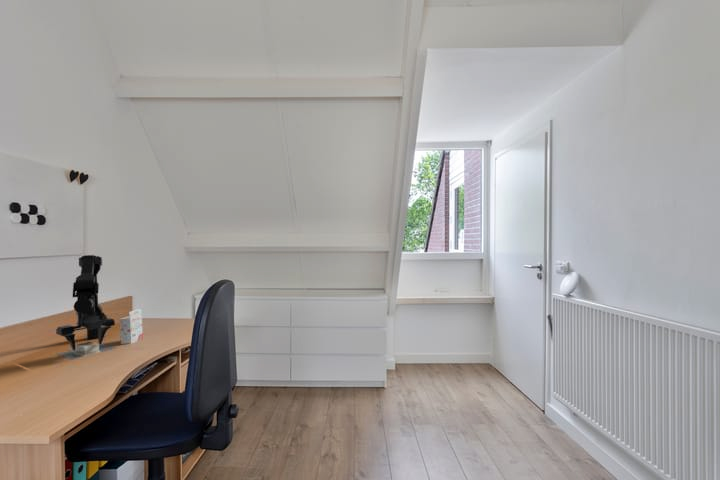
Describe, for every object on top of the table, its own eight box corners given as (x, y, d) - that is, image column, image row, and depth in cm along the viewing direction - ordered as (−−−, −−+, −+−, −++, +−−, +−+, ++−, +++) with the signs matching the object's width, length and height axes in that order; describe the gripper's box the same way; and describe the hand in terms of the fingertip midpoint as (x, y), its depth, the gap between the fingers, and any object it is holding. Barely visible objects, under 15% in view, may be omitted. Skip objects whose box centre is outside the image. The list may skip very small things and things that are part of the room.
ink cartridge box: (132, 339, 169) (131, 308, 169) (143, 339, 169) (142, 308, 169) (120, 345, 160) (119, 312, 160) (131, 344, 160) (130, 311, 160)
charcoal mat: (55, 355, 148) (55, 353, 148) (100, 344, 161) (100, 343, 161) (72, 360, 140) (72, 359, 140) (117, 349, 154) (117, 347, 154)
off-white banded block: (85, 355, 144) (84, 347, 144) (75, 352, 148) (75, 344, 148) (99, 351, 148) (98, 344, 148) (89, 349, 152) (89, 341, 152)
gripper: (67, 315, 136) (68, 356, 136) (120, 306, 152) (121, 343, 152) (55, 313, 142) (56, 352, 142) (107, 304, 158) (108, 340, 158)
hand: (87, 347), depth 148 cm, fingers open, 9 cm apart
